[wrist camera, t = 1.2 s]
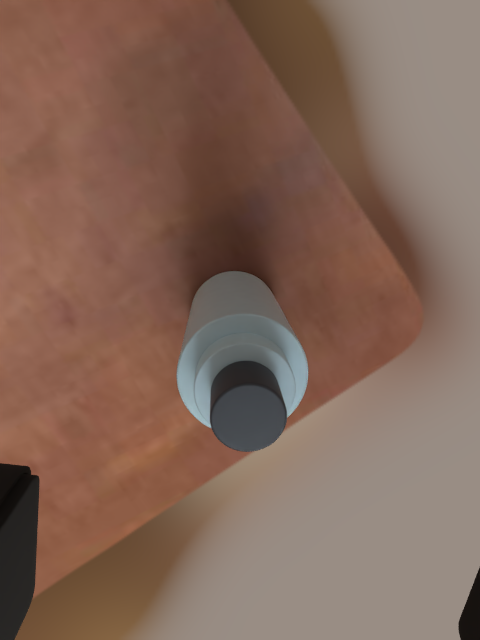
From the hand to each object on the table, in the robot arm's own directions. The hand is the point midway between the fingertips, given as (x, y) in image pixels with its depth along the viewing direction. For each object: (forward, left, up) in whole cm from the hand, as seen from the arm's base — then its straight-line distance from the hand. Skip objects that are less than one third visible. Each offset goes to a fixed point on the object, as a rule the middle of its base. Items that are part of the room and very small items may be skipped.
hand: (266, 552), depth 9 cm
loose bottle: (0, 0, -17) cm, 17 cm away
